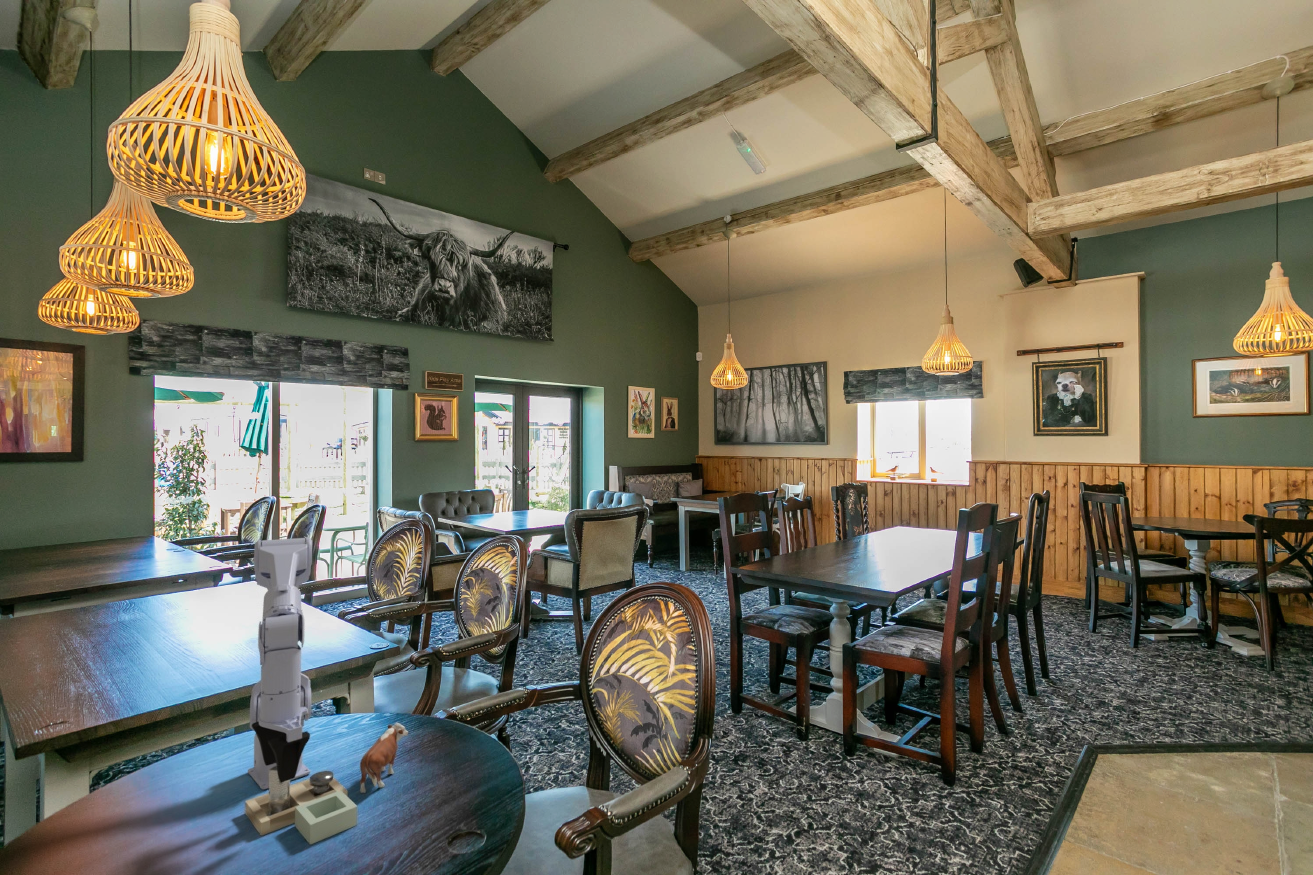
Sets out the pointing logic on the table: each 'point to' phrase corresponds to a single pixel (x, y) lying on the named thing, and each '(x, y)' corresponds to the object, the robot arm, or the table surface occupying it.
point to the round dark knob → (321, 782)
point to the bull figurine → (381, 755)
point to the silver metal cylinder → (278, 793)
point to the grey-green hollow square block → (325, 816)
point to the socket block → (298, 796)
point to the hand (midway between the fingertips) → (279, 770)
